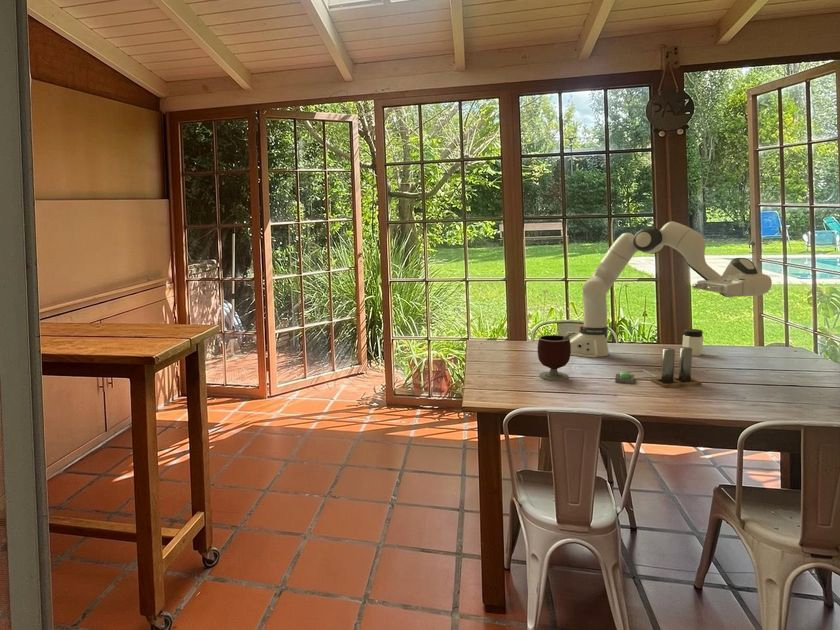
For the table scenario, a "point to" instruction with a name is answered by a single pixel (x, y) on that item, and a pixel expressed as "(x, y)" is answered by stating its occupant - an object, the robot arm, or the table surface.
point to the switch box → (624, 379)
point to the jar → (693, 340)
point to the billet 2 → (685, 364)
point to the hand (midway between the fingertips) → (700, 287)
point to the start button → (624, 375)
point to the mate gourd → (554, 355)
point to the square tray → (643, 371)
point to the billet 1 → (667, 365)
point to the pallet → (676, 383)
